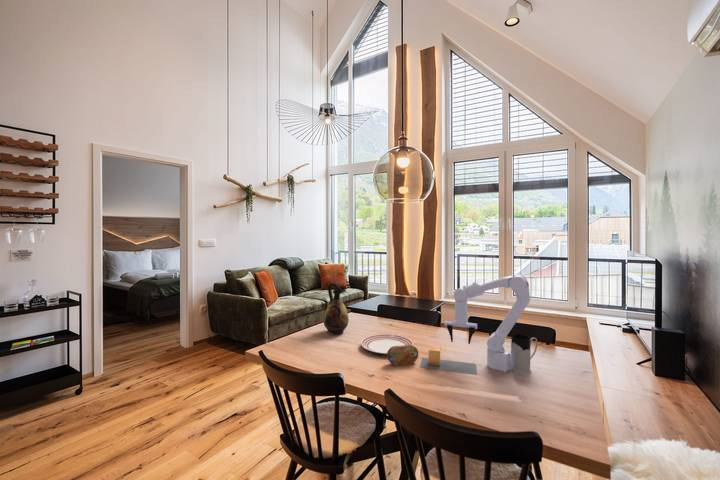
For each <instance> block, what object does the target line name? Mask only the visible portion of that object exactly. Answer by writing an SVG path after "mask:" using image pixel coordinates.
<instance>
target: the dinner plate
mask: <svg viewBox="0 0 720 480" xmlns="http://www.w3.org/2000/svg"><path fill="white" fill-rule="evenodd" d="M360 344H361V347H362V348H364V350H367V351H370V352H373V353H376V354H381V355H387V352H388V350H389V349H390V348H391V347H393V346H400V345H412V346H414V342H413V341H412V340H411V339H410V338H408V337H405V336H402V335H399V334H393V333H391V334H390V333H380V334H373V335H370V336H366V337H365V338H363V339H362V340H361V342H360Z"/></svg>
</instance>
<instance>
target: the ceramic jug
mask: <svg viewBox="0 0 720 480" xmlns="http://www.w3.org/2000/svg"><path fill="white" fill-rule="evenodd" d="M332 287H334V289H333V290H332ZM327 292H328V297H329V302H328V306H327V307H326V309H325V311H324V315H323V318H322V319H323V321H322V322H323V325H324V327H325V328H326V330H327V333H328V334H329V335H332V336H339V335H342V334H344V331H345V330H346V328H347V327H348V325H349V322H350V318H349V312H348V309H347V308H346V306H345V304H344V302H343V301H342V299H341V296H340V295H341V294H344V293H346V292H347V290H346V288H345V287H344V286H343V285H342V286H339V284H338V283H336V282H331V283H329V285H328V287H327Z"/></svg>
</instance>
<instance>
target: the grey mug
mask: <svg viewBox="0 0 720 480" xmlns="http://www.w3.org/2000/svg"><path fill="white" fill-rule="evenodd" d="M533 340H535V346H534V351H533V353H532V352H531V345H532V341H533ZM537 350H538V339H537V338H536V337H531V336H528V335H526V334H521V333H513V334H512V335H511V343H510V355H511V372H513V373H515V374H519V375H530V374H532V370H531V359H533V357H534V356H535V354H536V352H537ZM531 353H532V354H531Z"/></svg>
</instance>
